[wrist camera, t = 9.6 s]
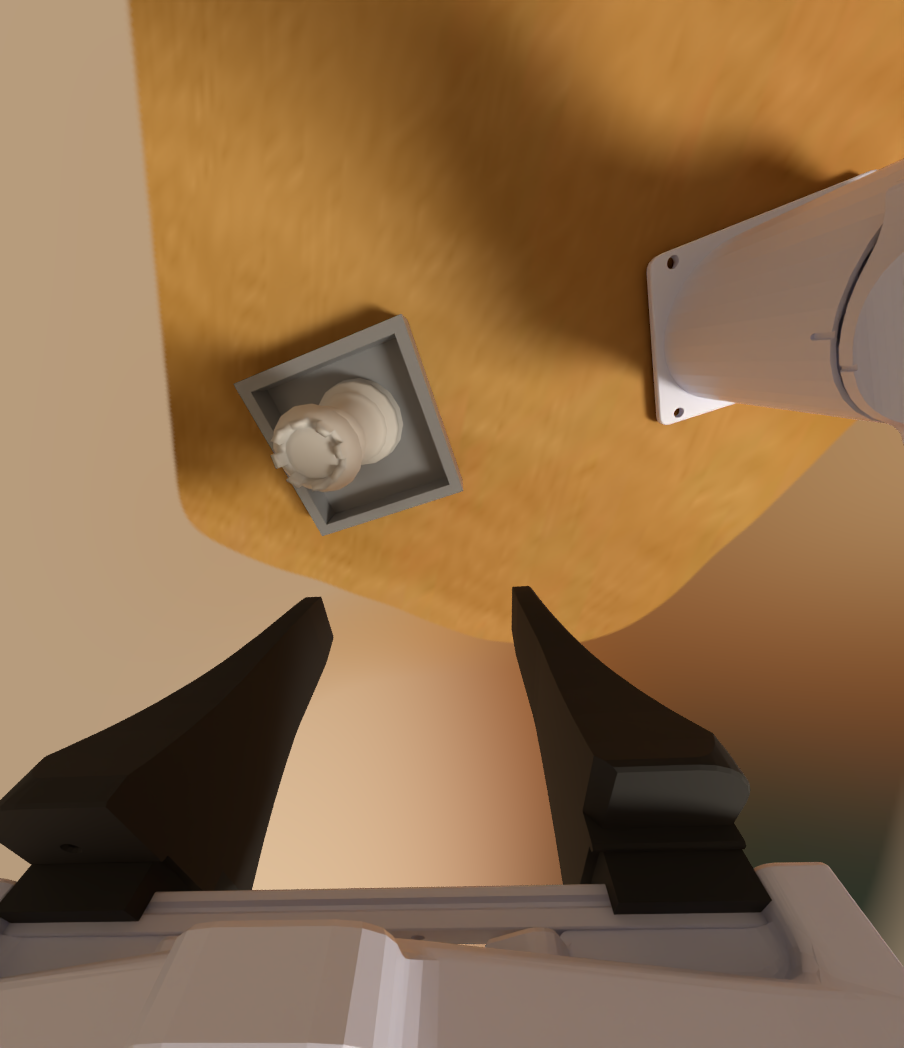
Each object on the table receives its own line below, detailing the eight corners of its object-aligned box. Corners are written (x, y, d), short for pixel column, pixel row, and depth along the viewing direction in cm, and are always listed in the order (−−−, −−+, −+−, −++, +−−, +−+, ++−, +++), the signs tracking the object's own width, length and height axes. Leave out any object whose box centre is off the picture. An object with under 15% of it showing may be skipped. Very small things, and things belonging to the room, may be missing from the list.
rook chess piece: (308, 417, 18) (214, 452, 11) (360, 358, 17) (292, 353, 10) (368, 474, 20) (319, 537, 13) (420, 423, 18) (399, 461, 11)
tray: (407, 319, 17) (401, 314, 15) (462, 479, 20) (463, 490, 19) (255, 381, 18) (233, 383, 16) (333, 521, 22) (322, 536, 20)
